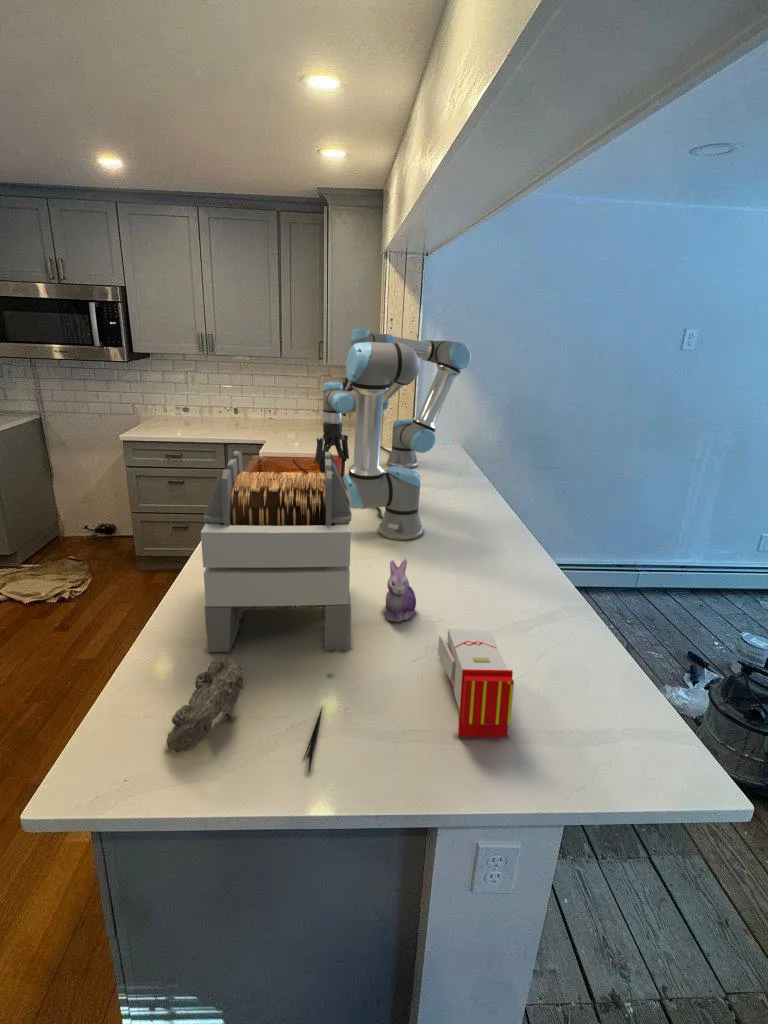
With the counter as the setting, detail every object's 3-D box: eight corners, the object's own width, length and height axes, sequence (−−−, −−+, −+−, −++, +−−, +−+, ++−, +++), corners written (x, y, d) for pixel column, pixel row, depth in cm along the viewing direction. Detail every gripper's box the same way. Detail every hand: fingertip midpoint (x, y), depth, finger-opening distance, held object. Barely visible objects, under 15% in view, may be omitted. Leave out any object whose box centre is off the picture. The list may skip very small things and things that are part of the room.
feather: (331, 679, 122) (336, 673, 122) (307, 777, 96) (313, 769, 95) (324, 675, 122) (329, 669, 121) (298, 772, 95) (304, 764, 95)
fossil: (192, 660, 117) (244, 628, 112) (224, 691, 120) (276, 661, 115) (142, 746, 98) (202, 712, 93) (182, 779, 101) (242, 748, 96)
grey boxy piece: (227, 584, 158) (219, 441, 145) (344, 583, 162) (347, 443, 148) (205, 654, 127) (191, 480, 113) (351, 650, 130) (355, 481, 117)
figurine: (392, 627, 141) (395, 572, 136) (374, 608, 149) (376, 556, 144) (425, 619, 145) (429, 566, 140) (405, 601, 154) (408, 550, 149)
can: (333, 488, 228) (333, 461, 224) (318, 484, 231) (318, 457, 228) (344, 484, 234) (345, 457, 230) (330, 480, 237) (330, 454, 234)
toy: (488, 613, 130) (523, 677, 101) (484, 667, 133) (517, 744, 104) (435, 612, 130) (455, 676, 101) (432, 666, 133) (451, 743, 103)
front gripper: (348, 418, 233) (347, 472, 240) (305, 422, 220) (305, 479, 228) (359, 421, 227) (357, 476, 235) (315, 426, 215) (315, 483, 223)
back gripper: (335, 367, 237) (334, 417, 244) (389, 366, 248) (386, 415, 255) (329, 365, 243) (328, 414, 251) (381, 365, 254) (379, 412, 261)
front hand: (332, 477), depth 231 cm, fingers closed on can, 8 cm apart
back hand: (358, 415), depth 253 cm, fingers open, 13 cm apart
